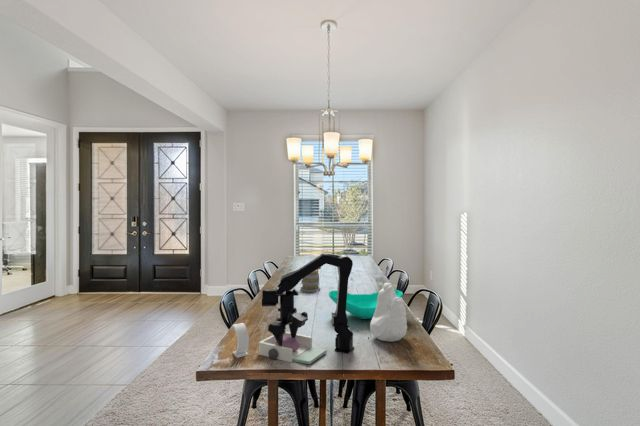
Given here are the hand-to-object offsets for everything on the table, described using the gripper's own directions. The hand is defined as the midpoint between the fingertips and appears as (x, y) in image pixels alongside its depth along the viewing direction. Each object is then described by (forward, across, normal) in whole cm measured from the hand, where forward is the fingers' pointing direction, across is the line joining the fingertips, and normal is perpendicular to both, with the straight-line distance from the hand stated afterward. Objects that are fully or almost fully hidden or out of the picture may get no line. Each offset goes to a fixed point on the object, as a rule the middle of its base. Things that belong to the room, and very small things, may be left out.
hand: (287, 343), depth 164 cm
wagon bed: (+4, 0, 0) cm, 4 cm away
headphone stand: (+4, -12, +14) cm, 19 cm away
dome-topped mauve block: (+3, 0, 0) cm, 3 cm away
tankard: (+4, +100, +47) cm, 111 cm away
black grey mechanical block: (+4, +35, +25) cm, 43 cm away
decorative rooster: (+4, +32, -33) cm, 46 cm away
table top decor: (+4, +59, -10) cm, 60 cm away
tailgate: (+3, 0, -8) cm, 8 cm away
